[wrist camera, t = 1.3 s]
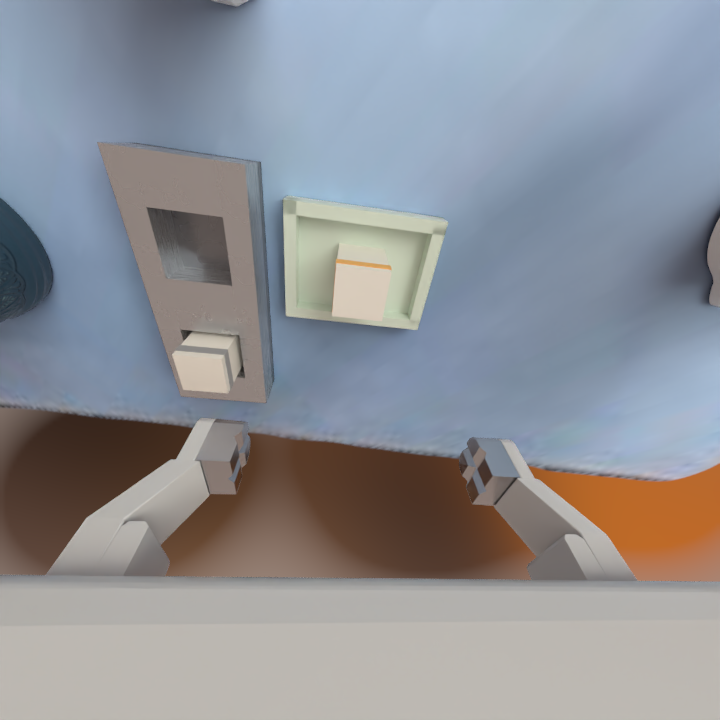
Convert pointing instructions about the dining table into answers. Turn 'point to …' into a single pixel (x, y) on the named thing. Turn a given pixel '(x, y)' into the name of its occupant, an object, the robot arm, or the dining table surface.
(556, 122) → the dining table surface
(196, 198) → the strip
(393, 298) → the tray
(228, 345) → the twin plug
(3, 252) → the canister
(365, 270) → the plug
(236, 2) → the white cup
